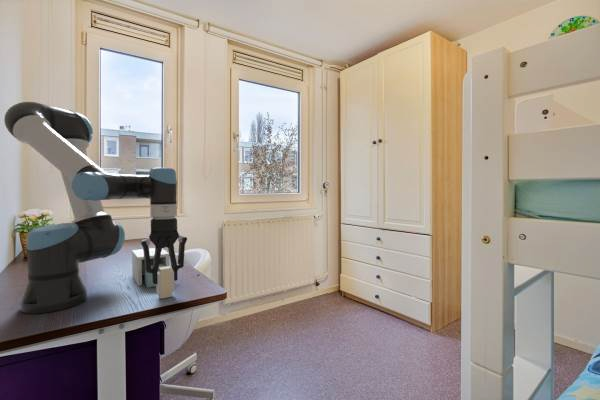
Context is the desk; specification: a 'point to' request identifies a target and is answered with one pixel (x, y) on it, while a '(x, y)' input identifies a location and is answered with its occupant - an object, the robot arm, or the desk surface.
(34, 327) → the desk surface
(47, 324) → the desk surface
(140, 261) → the white open box
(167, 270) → the tethered block
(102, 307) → the desk surface
